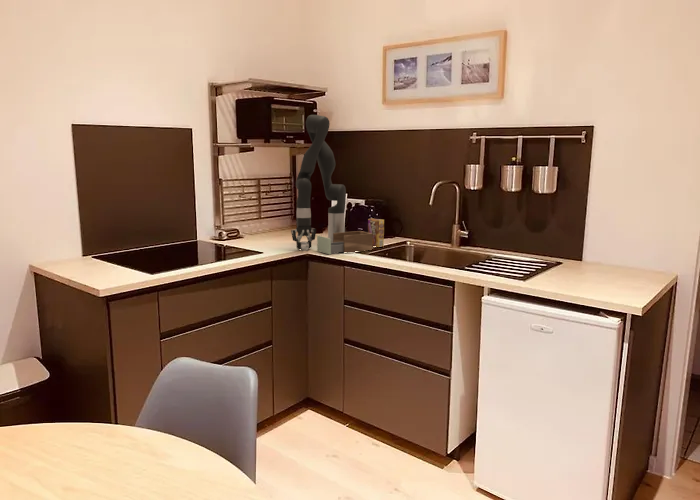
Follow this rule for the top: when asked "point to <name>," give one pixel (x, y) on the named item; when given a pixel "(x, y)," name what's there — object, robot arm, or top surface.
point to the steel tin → (304, 246)
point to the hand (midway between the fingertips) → (304, 248)
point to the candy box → (376, 231)
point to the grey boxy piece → (329, 245)
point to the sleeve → (354, 240)
